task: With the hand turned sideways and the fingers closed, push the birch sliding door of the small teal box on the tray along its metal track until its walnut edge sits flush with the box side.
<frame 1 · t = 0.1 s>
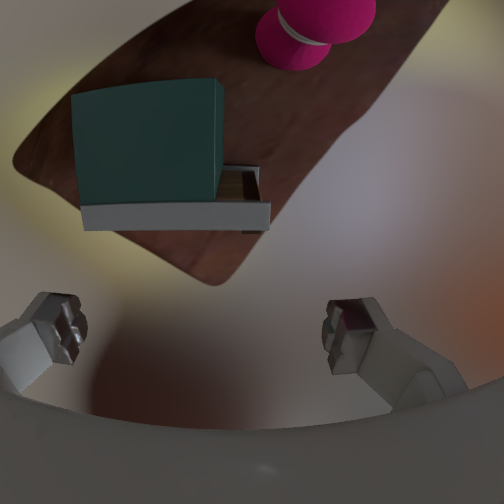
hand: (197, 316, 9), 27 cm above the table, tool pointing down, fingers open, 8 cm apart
sliding door: (220, 196, 28), point 7 cm above the table, slide at 0.0 cm
pepper mill: (286, 45, 27), on the table
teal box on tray: (174, 128, 30), on the table
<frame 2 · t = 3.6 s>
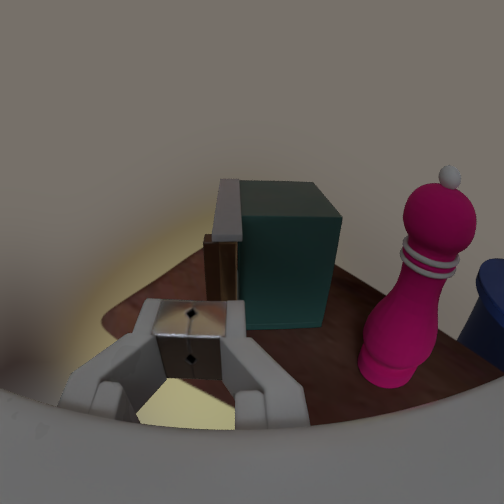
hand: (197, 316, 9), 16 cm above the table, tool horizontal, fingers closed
sliding door: (222, 279, 28), point 7 cm above the table, slide at 0.0 cm
pepper mill: (384, 366, 27), on the table
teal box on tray: (275, 298, 36), on the table
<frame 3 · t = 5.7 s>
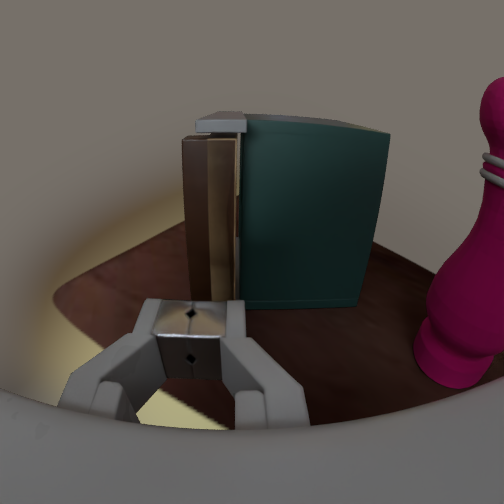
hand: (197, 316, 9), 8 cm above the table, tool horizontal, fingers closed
sliding door: (215, 225, 18), point 7 cm above the table, slide at 0.0 cm
pepper mill: (448, 358, 17), on the table
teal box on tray: (289, 270, 27), on the table
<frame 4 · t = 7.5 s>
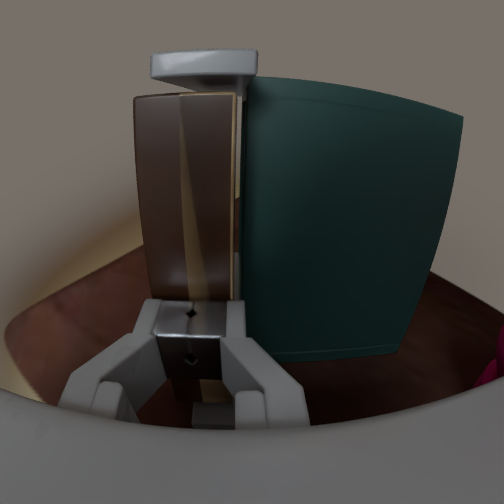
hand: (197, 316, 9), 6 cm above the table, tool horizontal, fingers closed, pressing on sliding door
sliding door: (202, 244, 12), point 7 cm above the table, slide at 0.4 cm, touching gripper
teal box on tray: (306, 299, 20), on the table
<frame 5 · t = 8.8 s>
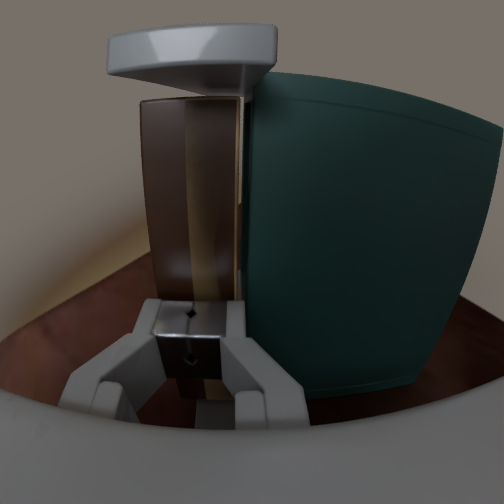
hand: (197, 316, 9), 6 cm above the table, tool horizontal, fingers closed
sliding door: (205, 244, 12), point 7 cm above the table, slide at 3.1 cm
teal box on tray: (315, 324, 18), on the table
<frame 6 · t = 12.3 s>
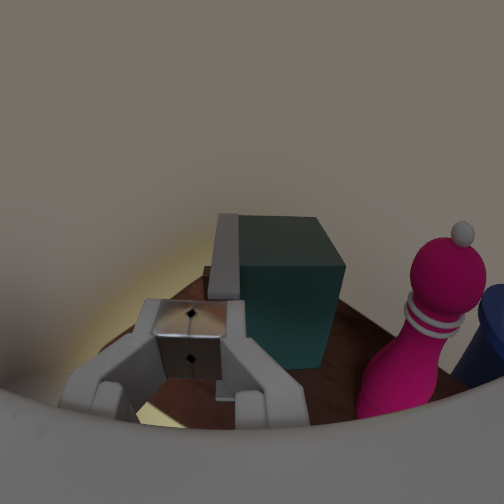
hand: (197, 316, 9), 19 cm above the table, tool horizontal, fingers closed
sliding door: (221, 305, 29), point 7 cm above the table, slide at 3.1 cm
pepper mill: (382, 409, 25), on the table
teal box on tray: (274, 335, 35), on the table
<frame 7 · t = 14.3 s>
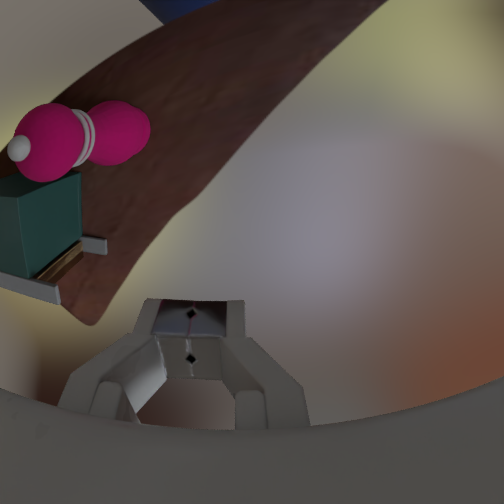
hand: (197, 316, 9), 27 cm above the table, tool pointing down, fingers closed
sliding door: (42, 262, 31), point 7 cm above the table, slide at 3.1 cm
pepper mill: (127, 131, 32), on the table
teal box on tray: (51, 201, 35), on the table
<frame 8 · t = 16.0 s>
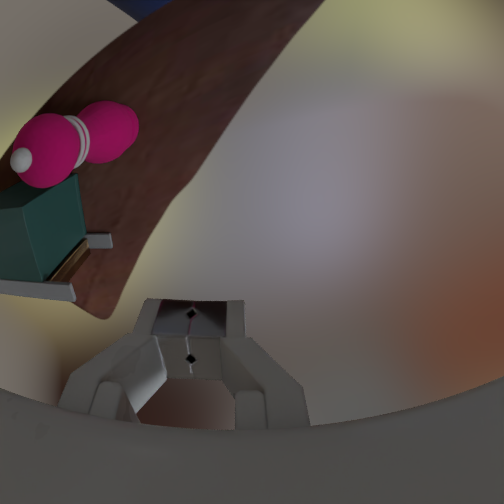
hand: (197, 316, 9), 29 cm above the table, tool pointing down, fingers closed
sliding door: (52, 265, 33), point 7 cm above the table, slide at 3.1 cm
pepper mill: (117, 127, 32), on the table
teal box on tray: (52, 206, 36), on the table
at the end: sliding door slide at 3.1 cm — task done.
